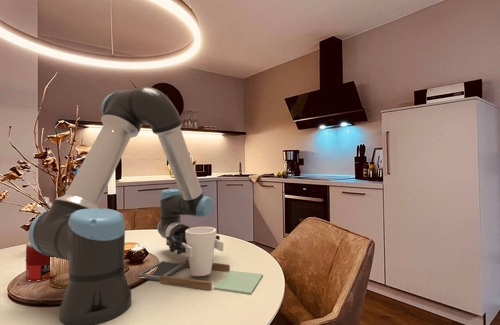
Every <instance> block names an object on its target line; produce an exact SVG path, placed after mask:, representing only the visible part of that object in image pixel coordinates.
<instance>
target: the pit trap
mask: <svg viewBox="0 0 500 325" xmlns="http://www.w3.org/2000/svg"><path fill="white" fill-rule="evenodd" d="M157 266H158V268H157V270H156V271H155V272H154V273H153V274H152V275H148V274H145V273H147V272H149V271H150V270H151V269H153V268H155V267H157ZM183 268H186V267H185V262H178V261H170V260H161V261H159V262H157V263H155V264H153V265H151V266H150V267H148V268H146V269H145V270H143V271H140V272H139V273H137V274H136V278H137V277H146V281H154V282H158V283H160V276H162V275H164V276H172V277H173V275H175V274H176V273H177V272H179V271H181V270H182V269H183Z"/></svg>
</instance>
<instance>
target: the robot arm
mask: <svg viewBox="0 0 500 325" xmlns="http://www.w3.org/2000/svg"><path fill="white" fill-rule="evenodd" d="M100 111H102V113H101V119H100V121H101V123H102V127H101V129H100V131H99V133H98V135H97V136H96V138H95V140H94V142H93V143H92V145H91V147H90V149H89V151H88V152H87V154H86V156H85V158H84V159H83V162H82V164H81V165H80V167H79V169H78V170H77V172H76V174H75V176H74V178H73V180H71V183H70V184H69V187H68V188H67V190H66V192H65V194H64V195H61V196H59V197H56V198H55V199H54V201H53V202H52V203H53V204H52V205H51V207H50V209H49V210H48V211H46V212H44V213H41V214H40V215H38V216H37V217H36V218H35V219H33V221H32V222H31V223H30V226H29V230H28V240H29V241H28V242H30V243H31V245H32V247H33V248H34V249H35V250H37V251H38V252H40V253H42V254H44V255H46V256H50V257H56V258H57V259H61V260H65V261H68V283H67V286H66V290H65V292H64V297H63V300H62V301H61V302H60V305H59V313H58V315H59V321H60V322H61V323H62V324H65V325H96V324H100V323H104V322H106V321H109V320H112V319H114V318H116V317H118V316H120V315H121V314H123V313H125V312H126V311H127V310H128V309H129V308H130V307H131V304H132V303H133V302H132V298H133V297H132V290H131V288H130V286H129V283H128V280H127V277H126V274H125V247H126V246H125V245H126V244H125V243H126V242H125V238H126V237H125V236H126V226H125V217H124V215H123V214H122V213H121V212H119V211H118V210H114V209H111V208H99V207H98V206H99V203H100V201H101V200H102V198H103V195H104V193H105V191H106V189H107V187H108V185H109V183H110V180H111V179H112V176H113V175H114V172H115V171H116V168H117V167H118V164H119V162H120V161H121V158H122V157H123V155H124V152H125V150H126V148H127V146H128V144H129V143H130V140H131V139H132V138H136V137H137V136H138V135H139V133H140V131H141V129H142V127H143V125H144V126H145V125H148V126H149V127H150V129H151V131H152V132H153V134H154V135H157V137H158V140H159V142H160V145H161V147H162V149H163V152H164V155H165V158H166V160H167V163H168V165H169V167H170V170H171V173H172V175H173V177H174V180H175V183H176V185H177V188H178V189H177V188H176V189H174V188H170V189H169V188H167V189H162V190H161V191H160V204H159V205H160V221H159V222H158V224H157V232H158V234H159V235H160V237H162V238H163V239H165V240H166V246H168V248H169V252H170V253H175V252H176V255H181V254H184V255H185V256H187V257H190V258H192V257H193V248H192V247H190V246H189V245H187V242H186V239H185V231H186V230H187V229H189V228H191V227H190V226H188V225H187V224H183V223H181V216H189V217H190V216H191V217H197V218H199V217H200V218H201V217H203V218H206V217H208V216H210V215H211V214H212V212H213V209H214V201H213V199H212V198H211V197H210V196H206V195H204V193H203V190H202V188H201V187H202V186H201V184H200V180H199V179H198V176H197V175H198V174H197V172H196V170H195V167H194V164H193V160H192V158H191V155H190V151H189V149H188V146H187V144H186V140H185V138H184V133H183V132H182V129H181V127H182V126H183V122H182V119H181V117H180V113H179V111H178V110H177V108H176V106H175V105H174V103H173V102H172V101H171V100H170V98H169V97H168V96H167V95H166V94H165V93H163V92H162V91H161V90H159V89H157V88H155V87H152V86H151V87H150V86H142V87H138V88H132V89H125V90H117V91H115V92H112V93H109V94H108V95H107V96H106V97H104V100H102V103H101V106H100ZM112 130H113V131H114V132H112ZM96 146H97V147H96ZM214 249H216V250H218V251H219V252H223V251H224V241H221V240H220V235H217V234H216V238H215V246H214Z"/></svg>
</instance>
